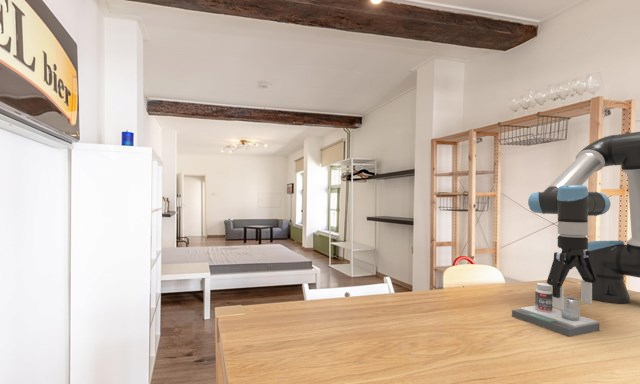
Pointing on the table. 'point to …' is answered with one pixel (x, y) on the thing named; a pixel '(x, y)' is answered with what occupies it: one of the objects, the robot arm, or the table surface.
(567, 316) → the cylinder
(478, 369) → the table surface
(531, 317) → the kitchen scale
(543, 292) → the pill bottle
